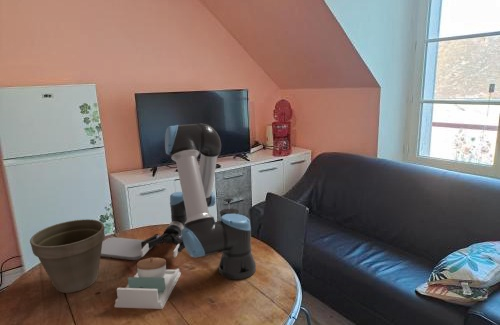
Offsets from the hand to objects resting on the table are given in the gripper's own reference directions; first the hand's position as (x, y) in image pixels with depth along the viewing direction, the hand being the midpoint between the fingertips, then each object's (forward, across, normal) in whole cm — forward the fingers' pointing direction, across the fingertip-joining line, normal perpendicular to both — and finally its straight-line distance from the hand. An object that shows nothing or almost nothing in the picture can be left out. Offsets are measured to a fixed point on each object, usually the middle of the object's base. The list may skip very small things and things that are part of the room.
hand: (158, 254), depth 137 cm
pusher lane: (+12, -1, -8) cm, 15 cm away
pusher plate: (+15, -1, -7) cm, 16 cm away
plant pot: (+9, +31, -8) cm, 33 cm away
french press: (-25, -25, -8) cm, 37 cm away
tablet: (-19, +24, -9) cm, 32 cm away
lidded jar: (+10, 0, -7) cm, 12 cm away
